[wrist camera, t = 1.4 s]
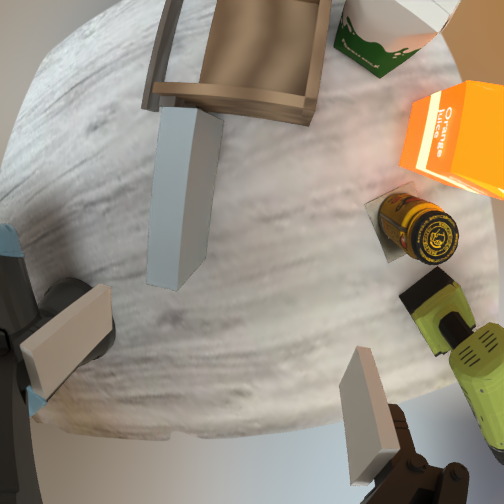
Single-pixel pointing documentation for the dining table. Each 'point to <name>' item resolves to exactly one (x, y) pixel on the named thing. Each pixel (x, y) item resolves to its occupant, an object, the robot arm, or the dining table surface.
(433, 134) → the orange juice
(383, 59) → the milk carton
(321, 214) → the dining table surface
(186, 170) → the door
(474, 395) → the cordless drill
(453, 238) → the condiment
